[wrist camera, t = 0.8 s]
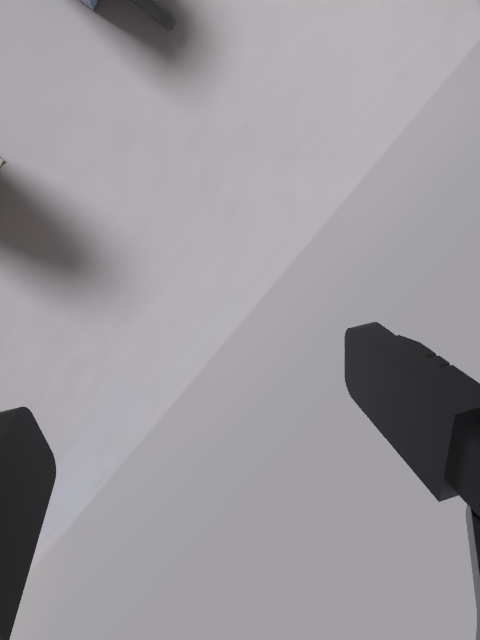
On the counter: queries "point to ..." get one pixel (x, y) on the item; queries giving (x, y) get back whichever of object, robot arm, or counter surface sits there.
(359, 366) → the robot arm
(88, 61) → the counter surface
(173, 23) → the block
